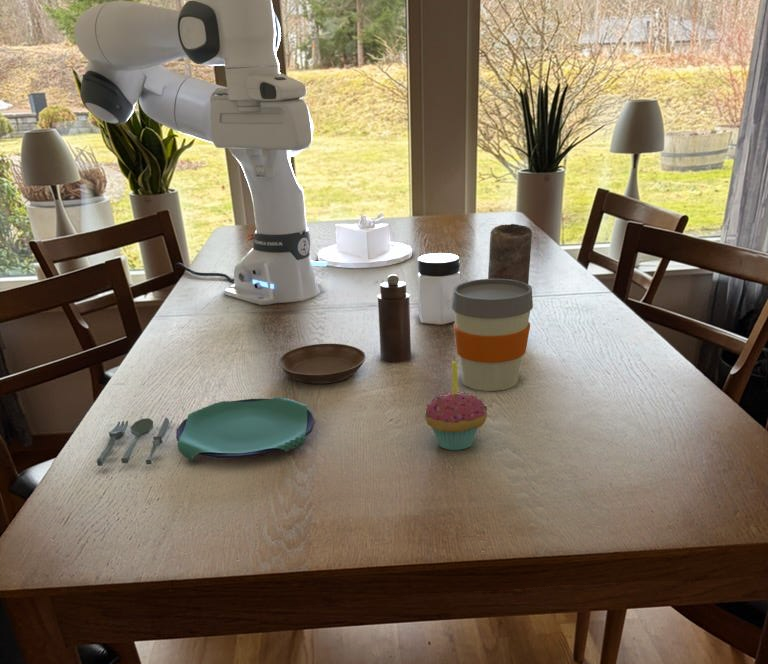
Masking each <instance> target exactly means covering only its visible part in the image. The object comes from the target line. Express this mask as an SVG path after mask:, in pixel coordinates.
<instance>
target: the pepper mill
mask: <svg viewBox="0 0 768 664" xmlns="http://www.w3.org/2000/svg"><path fill="white" fill-rule="evenodd" d="M399 278H400V277H399V276H398V275H396V274H394V273H393V274H390V275H388V277H387V278H386V281H383V282H382V283H380V284H379V287H380V288H379V289H380V294H378V295H377V307H378V327H379V328H378V329H379V330H378V331H379V348H380V349H379V350H380V351H379V353H380V359H381V360H382V361H383V362H386V363H391V364H392V363H403V362H406V361H409V360H411V358H412V348H411V347H412V343H411V342H412V340H411V310H410V309H411V308H410V305H411V304H410V294H409V293H407V283H406V282H405V281H401V280H400V279H399Z"/></svg>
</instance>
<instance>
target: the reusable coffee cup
mask: <svg viewBox="0 0 768 664" xmlns="http://www.w3.org/2000/svg"><path fill="white" fill-rule="evenodd" d="M533 300H534V299H533V288H532V286H531V285H530V284H529V283H528V284H527V283H524V282H521V281H516V280H509V279H488V278H482V279H481V278H480V279H473V280H468V281H463V282H462V283H461V282H460V284H459V285H457V286H455V288H454V291H453V300H452V309H453V311H454V314H455V322H453V327H452V328H453V334H454V341H455V351H456V355H458V356H459V361H460V368H461V369H460V370H461V378H462V383H463V385H465V387H468V388H470V389H472V390H477V391H484V392H497V391H504V390H508V389H510V388H513V387H515V386H516V385H517V384H518V382H519V381H518V380H519V378H520V377H519V376H520V370H521V365H522V359H523V356H524V355H525V354H526V353H527V346H528V340H529V336H530V335H529V334H530V329H531V323H530V322H529V320H530V314H531V311H532V310H533V308H534V303H533Z"/></svg>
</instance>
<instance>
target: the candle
mask: <svg viewBox="0 0 768 664" xmlns="http://www.w3.org/2000/svg"><path fill="white" fill-rule="evenodd" d="M532 238H533V231H532V229H531V228H530V227H528V226H527V225H522V224H516V223H511V224H505V223H504V224H500V225H496V226H495V227H493V228H492V229H491V231H490V235H489V248H488V250H489V251H488V252H489V253H488V269H487V271H488V272H487V279H509V280H516V281H521V282H524V283H527V284H528V285H529V281H530V280H529V279H530V267H531V266H530V265H531V253H532Z"/></svg>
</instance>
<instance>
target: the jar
mask: <svg viewBox="0 0 768 664" xmlns="http://www.w3.org/2000/svg"><path fill="white" fill-rule="evenodd" d="M460 266H461V261H460V256H458V255H456V254H453V253H446V252H445V253H444V252H443V253H442V252H438V253H427V254H423V255H421V256H419V257H418V258H417V302H418V303H417V306H418V310H417V311H418V318H419V321H420V323H421V324H427V325H429V324H430V325H437V326H438V325H439V326H443V325H444V326H445V325H447V324H451V323H455V314H454V311H453V309H452V300H453V291H454V288H455V286H457V285H459V284H461V273H460Z"/></svg>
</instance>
